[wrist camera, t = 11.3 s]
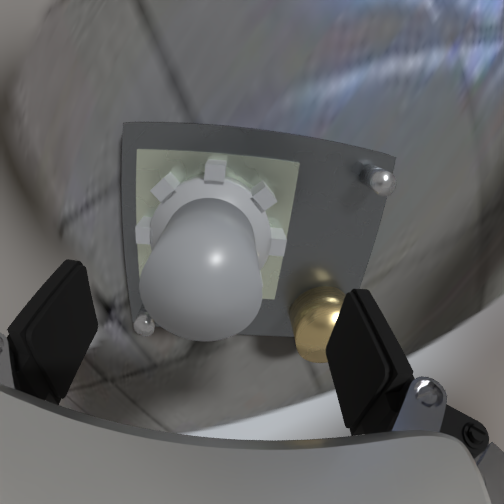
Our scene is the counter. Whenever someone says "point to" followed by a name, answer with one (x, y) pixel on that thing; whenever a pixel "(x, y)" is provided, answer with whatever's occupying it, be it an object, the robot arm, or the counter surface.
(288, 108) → the counter surface
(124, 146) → the carrier plate
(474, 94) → the counter surface
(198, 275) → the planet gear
